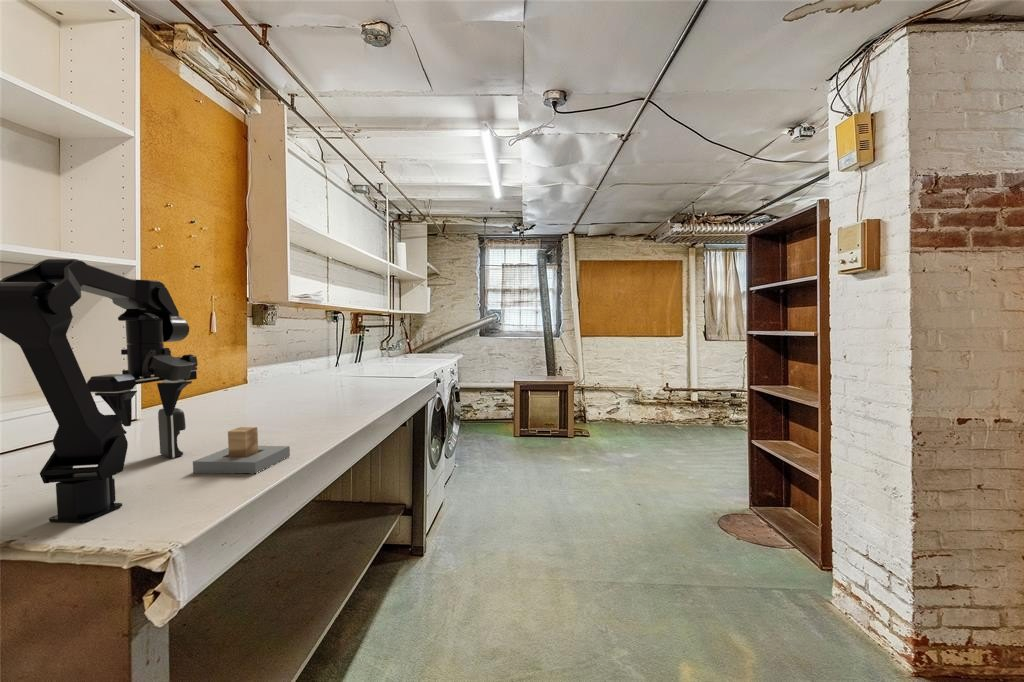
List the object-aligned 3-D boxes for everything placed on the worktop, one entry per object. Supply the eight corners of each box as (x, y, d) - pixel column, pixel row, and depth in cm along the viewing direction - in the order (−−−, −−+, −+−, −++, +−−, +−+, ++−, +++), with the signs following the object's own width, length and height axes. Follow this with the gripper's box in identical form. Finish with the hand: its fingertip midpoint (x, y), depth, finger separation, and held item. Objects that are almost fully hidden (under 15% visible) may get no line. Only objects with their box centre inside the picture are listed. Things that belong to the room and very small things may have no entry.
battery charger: (188, 455, 106) (186, 408, 105) (169, 459, 103) (166, 411, 102) (178, 450, 110) (176, 405, 109) (159, 454, 107) (157, 407, 106)
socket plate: (255, 474, 92) (255, 462, 91) (193, 473, 93) (192, 461, 93) (289, 456, 103) (289, 446, 103) (234, 455, 105) (233, 445, 105)
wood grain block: (246, 467, 96) (245, 431, 96) (229, 467, 96) (227, 431, 96) (258, 461, 100) (257, 427, 100) (242, 461, 100) (240, 426, 100)
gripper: (138, 345, 78) (143, 432, 79) (218, 341, 97) (221, 411, 97) (82, 346, 79) (86, 432, 80) (171, 341, 98) (174, 411, 98)
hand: (149, 420), depth 89 cm, fingers open, 9 cm apart
